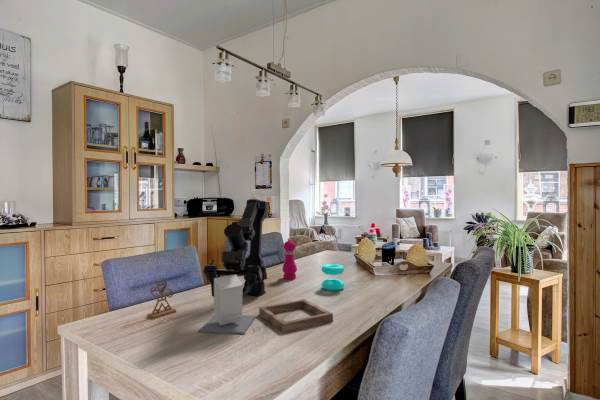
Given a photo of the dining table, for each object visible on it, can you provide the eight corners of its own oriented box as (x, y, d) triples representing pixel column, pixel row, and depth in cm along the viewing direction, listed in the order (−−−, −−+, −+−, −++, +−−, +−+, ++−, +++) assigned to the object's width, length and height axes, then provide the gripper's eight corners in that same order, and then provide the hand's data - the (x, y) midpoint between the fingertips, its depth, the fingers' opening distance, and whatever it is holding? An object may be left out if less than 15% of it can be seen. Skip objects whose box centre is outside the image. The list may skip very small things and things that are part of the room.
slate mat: (215, 316, 116) (215, 314, 116) (255, 317, 115) (255, 315, 115) (198, 332, 102) (198, 330, 102) (244, 334, 101) (244, 332, 101)
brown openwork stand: (170, 309, 123) (170, 276, 123) (176, 312, 121) (176, 278, 120) (146, 317, 116) (146, 281, 116) (153, 319, 113) (152, 283, 113)
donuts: (346, 264, 153) (340, 268, 144) (346, 286, 153) (340, 292, 144) (325, 262, 157) (318, 266, 148) (325, 284, 157) (318, 290, 148)
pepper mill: (298, 277, 172) (298, 237, 171) (294, 280, 165) (293, 238, 165) (285, 275, 174) (285, 236, 174) (280, 279, 167) (279, 238, 167)
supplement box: (242, 320, 108) (243, 285, 104) (219, 326, 104) (219, 290, 100) (235, 307, 114) (236, 273, 110) (213, 311, 110) (213, 277, 107)
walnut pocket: (259, 314, 117) (259, 307, 117) (304, 306, 126) (304, 299, 126) (283, 332, 102) (283, 324, 102) (332, 321, 111) (332, 313, 111)
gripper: (204, 240, 113) (190, 282, 102) (260, 241, 111) (251, 284, 100) (213, 259, 121) (201, 300, 110) (265, 260, 119) (258, 302, 108)
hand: (227, 296), depth 107 cm, fingers closed on supplement box, 9 cm apart
